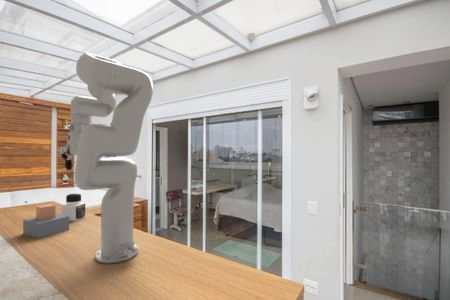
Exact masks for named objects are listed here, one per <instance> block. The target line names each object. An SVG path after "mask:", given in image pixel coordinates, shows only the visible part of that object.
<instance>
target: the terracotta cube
mask: <svg viewBox="0 0 450 300" xmlns="http://www.w3.org/2000/svg"><path fill="white" fill-rule="evenodd" d="M35 208H36V209H35V211H36V216H35V217H36V218H37V219H39V220H40V221H41V220H46V219H51V218H55V213H56V204H53V203H47V204H41V205H36V206H35Z"/></svg>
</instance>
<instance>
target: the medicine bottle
mask: <svg viewBox="0 0 450 300" xmlns="http://www.w3.org/2000/svg"><path fill="white" fill-rule="evenodd" d="M65 200H66V202H65V204H63V205H61V213H60V214H62V215H66V216H69V222H77V221H79V220H81V219H83V218H85V217H86V202H82V194H80V193H69V194H67V195H66V197H65Z"/></svg>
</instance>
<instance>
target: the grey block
mask: <svg viewBox="0 0 450 300" xmlns="http://www.w3.org/2000/svg"><path fill="white" fill-rule="evenodd" d="M22 221H23V222H22V223H23V225H22V230H23V231H22V234H23V235H26V236H29V237H32V238H35V239H38V240H40V239H43V238H47V237H50V236H53V235H56V234H59V233H58V232H60V233H62V232H61V231H63V232H66V231H69V230H70V221H69V216H66V215H62V214H61V213H56V212H55V218H51V219H46V220H41V221H40V220H39V219H37V218H36V216H33V217H30V218H25V219H23V220H22ZM65 230H66V231H65ZM55 233H56V234H55ZM52 234H53V235H52ZM49 235H50V236H49ZM46 236H47V237H46Z"/></svg>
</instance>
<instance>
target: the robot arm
mask: <svg viewBox="0 0 450 300" xmlns="http://www.w3.org/2000/svg"><path fill="white" fill-rule="evenodd" d="M75 70H76V74H77V75H76V76H77V77H78V78H79V79H80V80H81V82H83V83H84V84H86V85H87V90H88V92H89V94H90V95H91V96H92V97H90V96H83V95H75V96H73V98H72V99H71V101H70V124H69V125H67V126H66V129H68V130H69V132H68V135H67V141H66V145H65V146H63V147H61V148H57V153H58V154H59V156H60V157H61V158H62V159H63V160H64V161H65V162H64V165H65V166H64V167H65V170H66V171H71V170H72V169H73V168H72V166H73V164H72V162H73V161H72V160H71V159H73V156H76V162H75V170H74V182H75V184H76V186H77V188H78V189H80V190H83V191H95V190H100V189H101V190H102V189H104V190H105V189H107V191H106V192H105V193H104V195H103V197H102V200H101V208H100V209H101V210H100V211H101V212H100V216H101V217H100V223H101V224H100V226H101V227H100V248H99V249H98V250H97V251H96V252H95V255H94V256H95V261H97V263H98V262H99V263H100V264H101V263H102V264H115V263H121V262H125V261H127V260H131V259H132V258H134V257H135V256H137V254H138V252H139V246H138V245H136V244H135V240H134V206H135V205H134V204H135V203H134V200H135V199H134V198H135V197H134V196H135V186H136V185H135V184H136V181H137V174H138V167H137V164H136V162H135V161H134V160H133V159H131V158H129V157H126V156H131V155H133V154H134V153H136V152H137V149H138V147H139V146H138V145H139V142H140V136H141V134H142V133H141V131H142V127H143V122H144V117H145V115H146V112H147V111H148V107H149V106H150V103H151V100H152V98H153V94H154V84H153V81H152V77H150V75H149V74H147V73H146V72H145V71H142V70H140V69H137V68H134V67H130V66H127V65H124V64H122V63H121V62H119V61H117V60H115V59H111V58H108V57H105V56H100V55H97V54H94V53H90V52H85V53H83V54H82V55H80V56H79V58H78V59H77V61H76V66H75ZM117 94H118V95H124V96H126V97H124V98H123V99H122V100H121V101H120V102H119V103H118V104H117V98H116V95H117ZM111 114H113V115H112V120H111V123H108V124H107V123H92V117H98V118H106V117H108V116H110V115H111ZM64 151H66V153H65V152H64Z"/></svg>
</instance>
